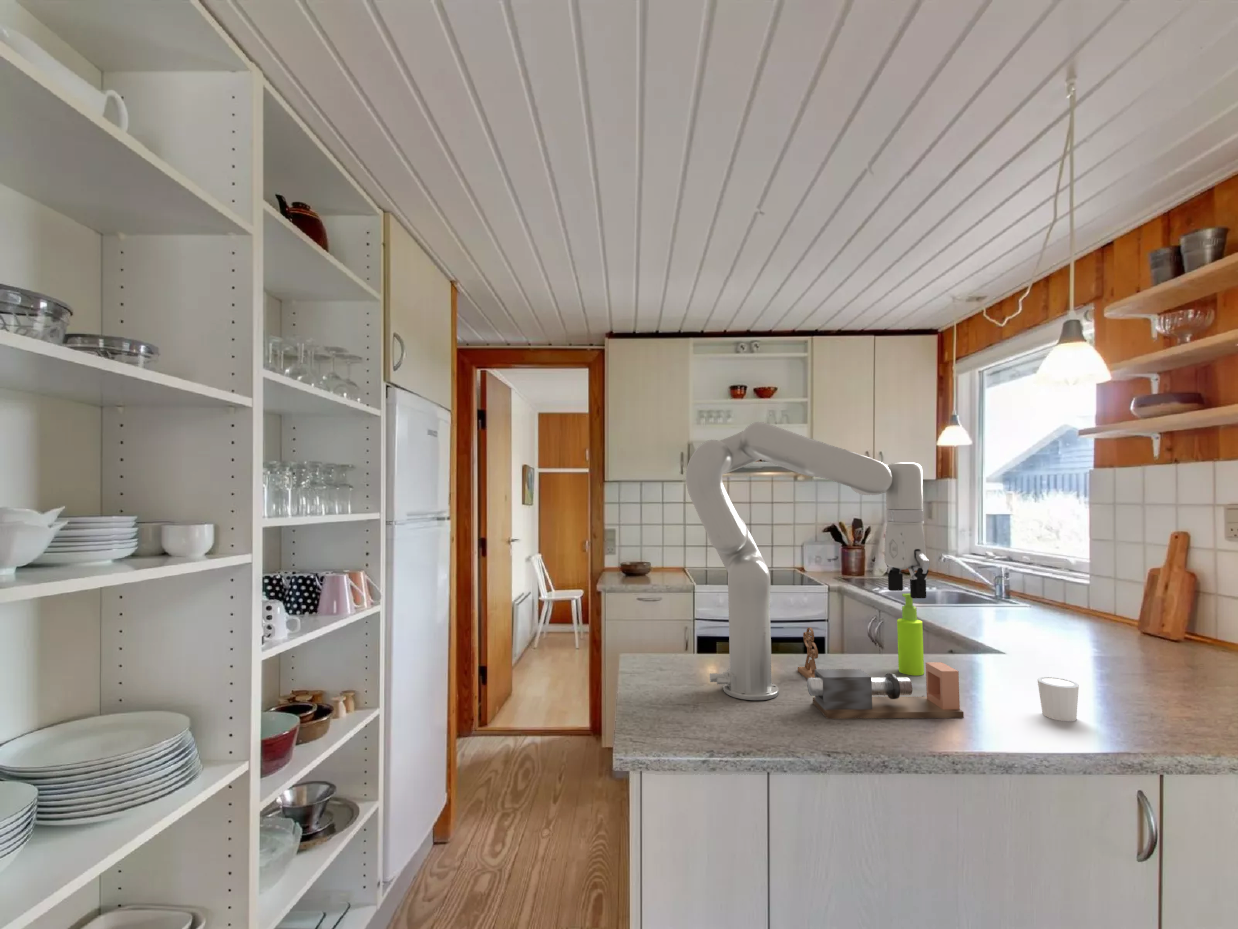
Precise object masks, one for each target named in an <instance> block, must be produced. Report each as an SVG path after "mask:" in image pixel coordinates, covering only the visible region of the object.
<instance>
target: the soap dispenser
mask: <svg viewBox="0 0 1238 929" xmlns="http://www.w3.org/2000/svg"><path fill="white" fill-rule="evenodd" d="M901 596H902V597H903V598H904V600H905V601H904V602H905V604H904V605H902V606H901V614H902V615H901V616H902V618H898V619H897V620H896V624H897V625H896V627H897V628H896V629H897V657H898V658H897V659H898V660H897V663H898V672H899V673H900V674H903V675H908V676H923V675H924V674H925V663H924V662H925V659H924V634H923V633H924V630H923V626H924V625H923V621H922V620H920V619H918V612H917V609H918V608H917V607H916V606H915V605H914V604H913V603H914V601H913V600H914V598H911V596H910V592H908V593H902V595H901Z"/></svg>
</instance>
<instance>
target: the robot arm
mask: <svg viewBox="0 0 1238 929" xmlns="http://www.w3.org/2000/svg"><path fill="white" fill-rule="evenodd" d="M760 460H762V461H764V462H767V463H770V464H773V465H775V466H778V467H781V468H784V469H787V470H789V471H793V472H795V473H797V474H800V475H804V476H807V477H811V478H813V477H815V478H820V479H825V480H828V481H833V482H836V483H837V484H840V485H844V486H847V487H849V488H851V490H852V491H854V492H855V493H856V494H859V495H862V496H863V495H864V496H879V495H882V494H885V502H886V503H885V505H886V506H885V507H886V510H885V511H886V527H885V534H884V554H883V555H884V560H883V561H884V563H885V565H886V567H887V568H886V573H887V587H888V588H887V590H888V591H890V592H894V591H895V592H896V591H897V592H902V591H903V590H904V579H903V578H904V577H903V576H904V573H903V572H902V570H907V569H908V571H909V572H908V573H910V574H909V575H910V577H911V579H910V580H909V587H910V589H909V590H910V591H909V593H910V596H911V598H913V599H927V580H928V574H929V568H930V563H931V562H930V560H929V559H928V557H927V553H926V551H927V550H926V542H925V540H926V538H925V532H924V526H923V525H924V524H925V522H924V520H925V519H924V516H925V515H924V484H923V482H924V481H923V467H922V466H921V464H919V463H918V462H917V463H916V462H893V463H892V462H891V463H890V464H889V463H888V464H885V463H883V462H881V461H880V460H878V459H874V458H872V457H868V456H866V455H864V454H860V453H857V452H854V451H851V450H848V449H845V448H842V447H838V446H835V445H831V444H829V443H826V442H823V441H820V440H816V439H812V438H809V437H807V436H804V435H801V434H798V433H796V432H793V431H789V430H788V429H785V428H781V427H780V426H776V425H772V424H770V423H768V422H767V423H766V422H764V421H756V422H751V423H750V424H749V425H747V426H746V428H745V429H744V430H742V431H740V432H738V433H736V434H733V435H730V436H728V437H726V438H725V437H724V438H723V439H720V440H718V439H709V440H706V441H704V442H702V443H700V445H699V446H698V447H696V449H695V451H694V452H693V453H692V455H691V457H690V458H689V460H688V462H687V463H688V464H687V467H686V470H685V482H686V483H685V484H686V489H687V492H688V495H689V498H690V500H691V502H692V504H693V507H694V509H695V511H696V513H697V515H698V517H699V519H700V522H701V523H702V526H703V528H704V530H705V532H706V534H707V537H708V540H709V543H710V544H711V545H712V547H713V548H714V549H715V550H716V552H717V554H718V556H719V558H720V560H721V562H722V564H723V566H724V569H725V571H726V572H727V594H728V595H727V596H728V597H727V598H728V599H727V600H728V633H729V637H728V638H729V640H728V642H729V643H728V644H729V668H728V667H727V668H726V671H723V672H722V673H717V672H716V673H709V682H710V683H716V684H717V685H723V686H722V688H723V692H724V693H725V694H726V695H727V696H728V695H729V696H730V697H732V698H736V699H741V700H744V701H745V700H747V701H766V700H771V699H774V698H776V697H777V696H778V695H779V693H780V692H779V687H778V685H776V684H775V683H772V680H773V679H772V677H773V676H772V639H771V638H772V633H771V628H772V627H771V587H772V586H771V574H770V573H771V572H770V570H769V567H768V565H767V564H766V561H765V559H764V558H763V556H762V553H761V552H760V550H759V548H758V546H757V544H756V542H755V540H754V538H753V536H752V534H751V532H750V531H749V528H748V527H747V525H746V523H745V521H744V519H743V518H742V517H740V516H739V513H738V512H737V510H736V508H735V506H734V505H733V502H732V500H731V498H730V496H729V494H728V492H727V490H726V487H725V485H724V482H723V475H725V474H728V473H731V472H733V471H736V470H739V469H741V468H744V467H746V466H748V465H750V464H753V463H755V462H758V461H760Z"/></svg>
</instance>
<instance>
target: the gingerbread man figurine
mask: <svg viewBox="0 0 1238 929" xmlns="http://www.w3.org/2000/svg"><path fill="white" fill-rule="evenodd" d="M802 635H803V636H802V637H803V638H802V639H803V643H804V646H805V647H806V651H807V652H806V659H805V664H804V666H797V672H798V673H800V675H802V676H803V677H804V678H806V679H807V680H808V678H815V669H817V665H816V661H815V659H819V650H818V647H817V644H816V643H815V642H814V641H815V632H814V629H813V627H807V628H806V631H804V632H803V633H802ZM810 658H811V659H810Z"/></svg>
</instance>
